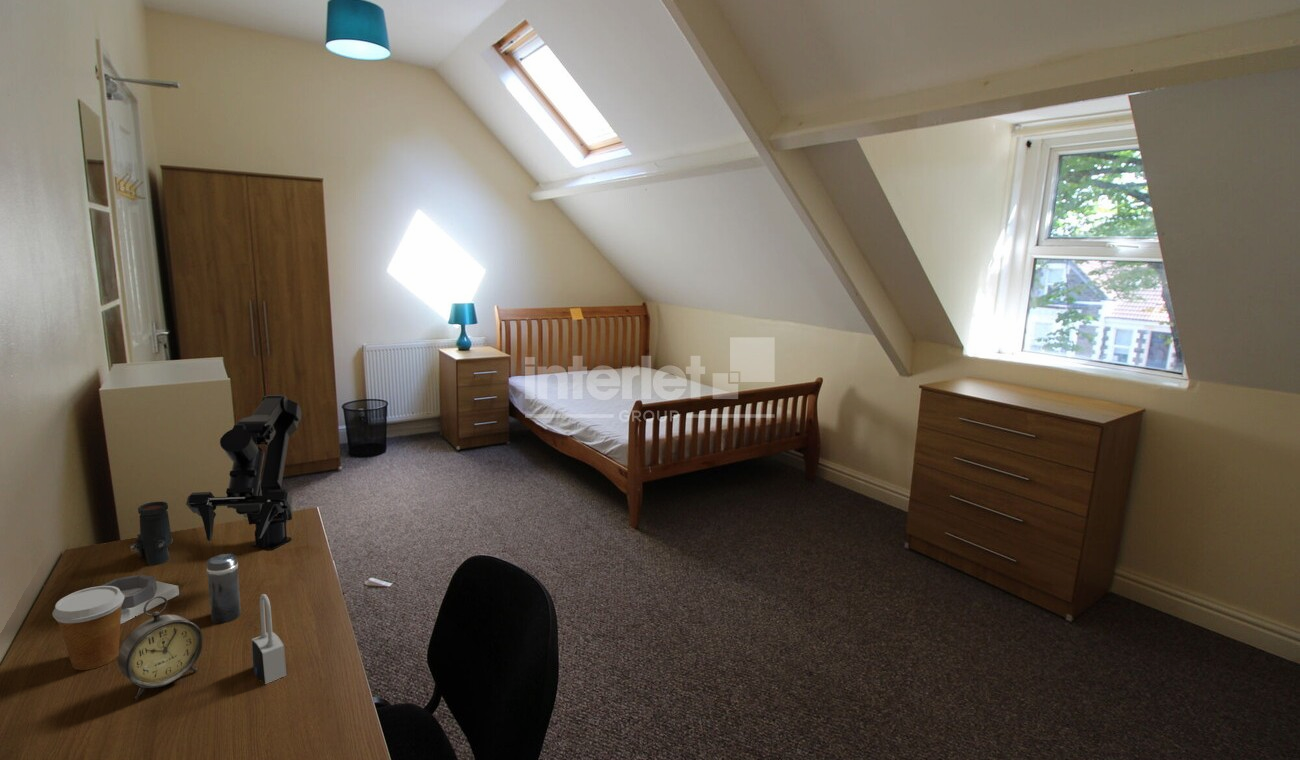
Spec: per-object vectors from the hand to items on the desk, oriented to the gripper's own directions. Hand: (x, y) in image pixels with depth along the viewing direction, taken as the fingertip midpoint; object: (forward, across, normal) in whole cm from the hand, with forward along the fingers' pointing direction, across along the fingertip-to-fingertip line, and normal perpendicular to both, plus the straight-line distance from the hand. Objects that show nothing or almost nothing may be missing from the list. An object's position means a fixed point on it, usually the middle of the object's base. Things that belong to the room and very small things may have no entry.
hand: (234, 539), depth 132 cm
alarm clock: (+29, +4, +12) cm, 32 cm away
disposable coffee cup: (+22, +17, +4) cm, 29 cm away
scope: (-5, +22, -25) cm, 34 cm away
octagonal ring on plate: (+10, +20, -9) cm, 24 cm away
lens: (+15, 0, -3) cm, 15 cm away
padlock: (+29, -13, +13) cm, 35 cm away
